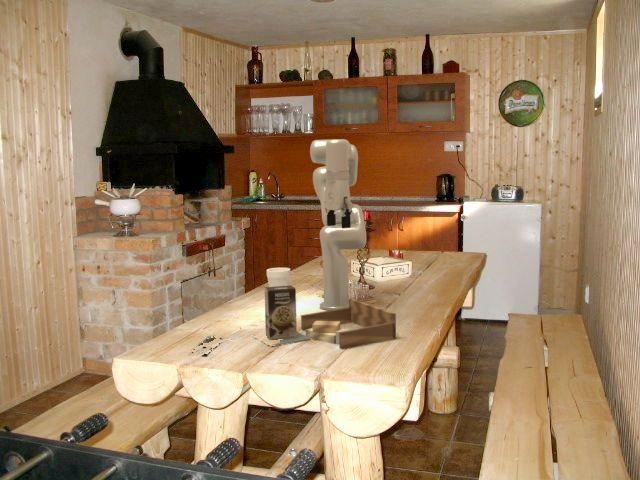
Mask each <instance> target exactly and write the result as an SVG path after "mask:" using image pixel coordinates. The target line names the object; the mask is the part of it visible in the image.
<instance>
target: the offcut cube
mask: <svg viewBox="0 0 640 480" xmlns="http://www.w3.org/2000/svg"><path fill="white" fill-rule="evenodd" d="M347 330H349V329H348V328H342V329H340V330H339V331H336V343H335V344H337V345H339V332H342V331H347Z"/></svg>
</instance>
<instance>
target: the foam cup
mask: <svg viewBox="0 0 640 480" xmlns="http://www.w3.org/2000/svg"><path fill="white" fill-rule="evenodd" d="M266 277H267V282H268V287H275V286H288V285H290V277H291V268H290V267H271V268H268V269H266Z"/></svg>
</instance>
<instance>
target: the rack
mask: <svg viewBox="0 0 640 480" xmlns="http://www.w3.org/2000/svg"><path fill="white" fill-rule="evenodd" d="M396 314H397V312H396V313H395V312H392V311H390V310H386V309H383V308H380V307H378V306H375V305H372V304H369V303H366V302H363V301H360V300H357V299H354V298H349V307H348V308H342V309H336V310H326V311H317V312H313V313H306V314H301V315H300V320H301V322H300V323H301V324H300V325H301V328H300V329H301V331H306V329H310V328H312V325H313V323H314V322H315V321H340V325H342V324H347V323H353V324H355V325H357V326H360V327H359V328H354V329H348V330H347V331H342V332H339V344H338V345H339V349H340V350H343V349H348V348H349V349H350V348H354V346H355V347H359V345H360V346H363V345H364V344H365V345H369V343H370V344H373V343H379V342H384V341H388V340H394V339H397V319H396V318H397V315H396Z"/></svg>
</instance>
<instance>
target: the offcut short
mask: <svg viewBox="0 0 640 480" xmlns="http://www.w3.org/2000/svg"><path fill="white" fill-rule="evenodd" d="M312 328H313V333H336V331H339V330H341V324H340V321H315V322H314V323H313V325H312Z"/></svg>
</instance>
